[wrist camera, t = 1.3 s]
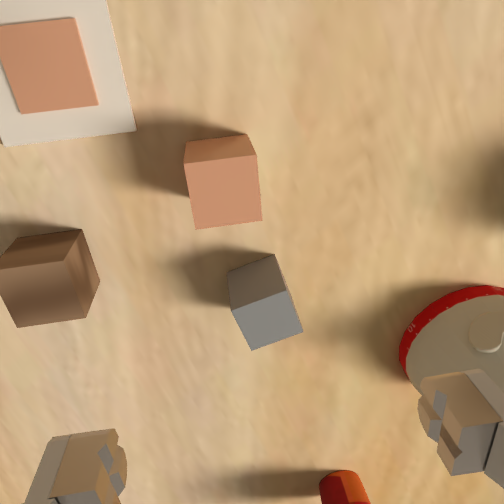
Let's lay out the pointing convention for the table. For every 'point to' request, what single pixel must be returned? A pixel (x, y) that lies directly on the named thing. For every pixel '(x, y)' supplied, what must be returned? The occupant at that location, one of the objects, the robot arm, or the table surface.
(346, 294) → the table surface
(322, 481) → the paper cup
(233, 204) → the salmon orange block
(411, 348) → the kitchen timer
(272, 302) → the grey block
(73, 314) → the walnut block
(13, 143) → the tile
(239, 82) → the table surface
